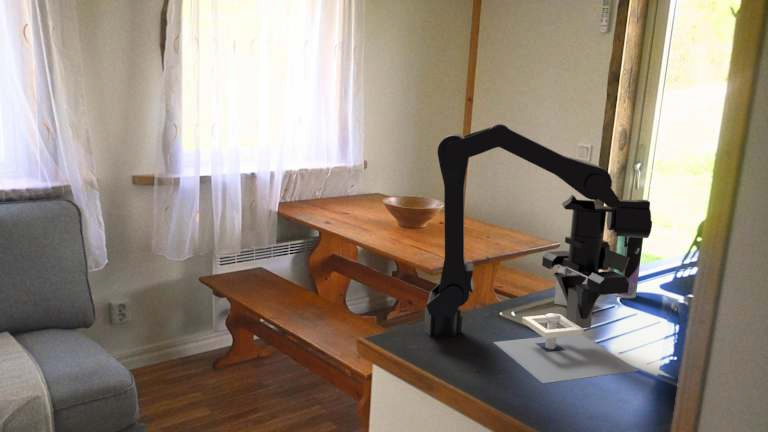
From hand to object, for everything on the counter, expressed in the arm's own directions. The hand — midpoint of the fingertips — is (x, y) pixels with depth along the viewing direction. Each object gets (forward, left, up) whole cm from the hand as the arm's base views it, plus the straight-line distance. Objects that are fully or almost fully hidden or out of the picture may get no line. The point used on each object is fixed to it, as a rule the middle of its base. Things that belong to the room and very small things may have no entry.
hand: (578, 315), depth 114 cm
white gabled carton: (+16, +25, -8) cm, 31 cm away
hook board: (-5, -4, -7) cm, 10 cm away
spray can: (+33, +26, -7) cm, 43 cm away
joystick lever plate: (-4, 0, -2) cm, 4 cm away
